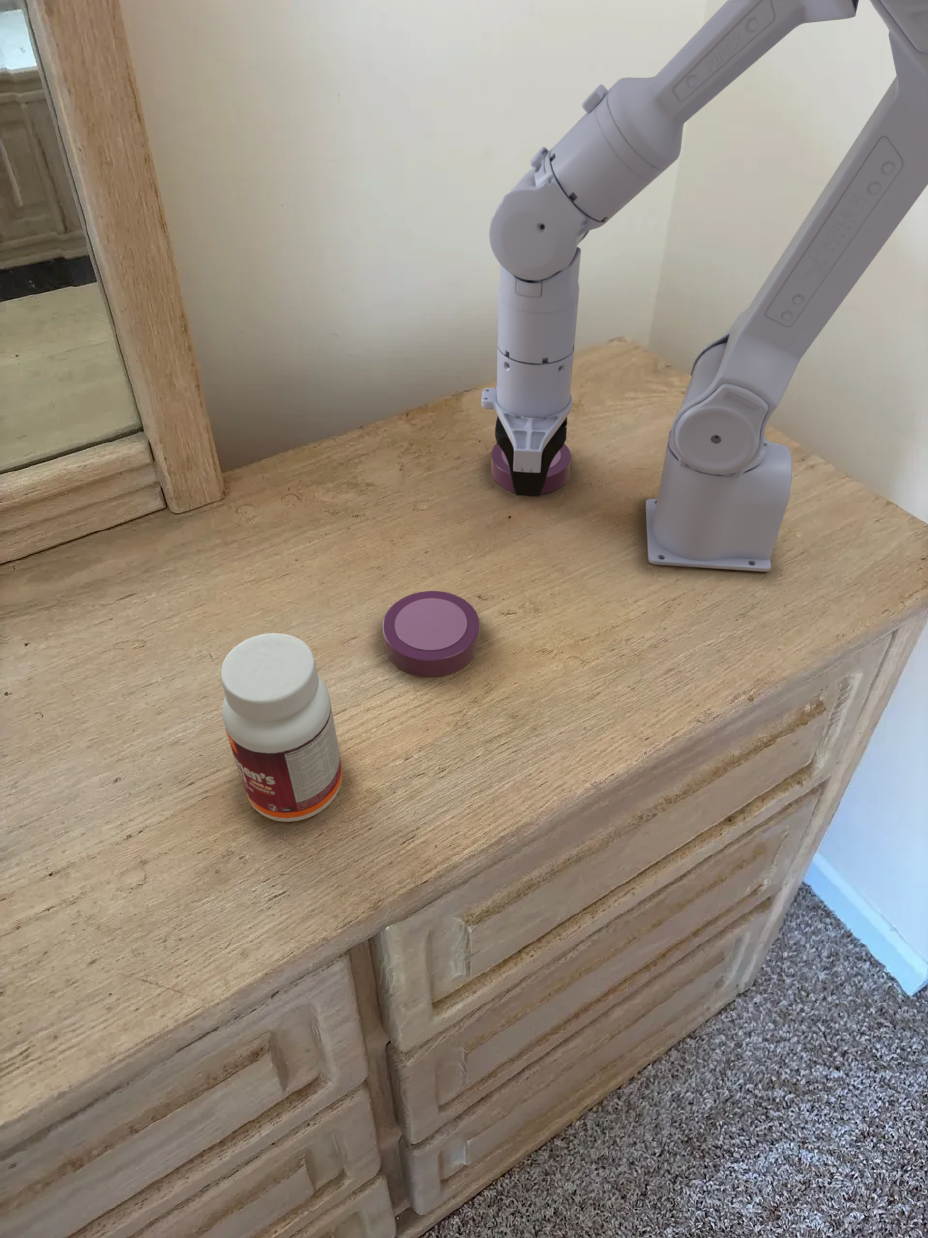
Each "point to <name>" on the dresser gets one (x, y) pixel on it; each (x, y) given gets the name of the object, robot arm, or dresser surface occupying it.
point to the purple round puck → (555, 474)
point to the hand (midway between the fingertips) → (527, 491)
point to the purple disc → (431, 633)
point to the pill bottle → (280, 727)
